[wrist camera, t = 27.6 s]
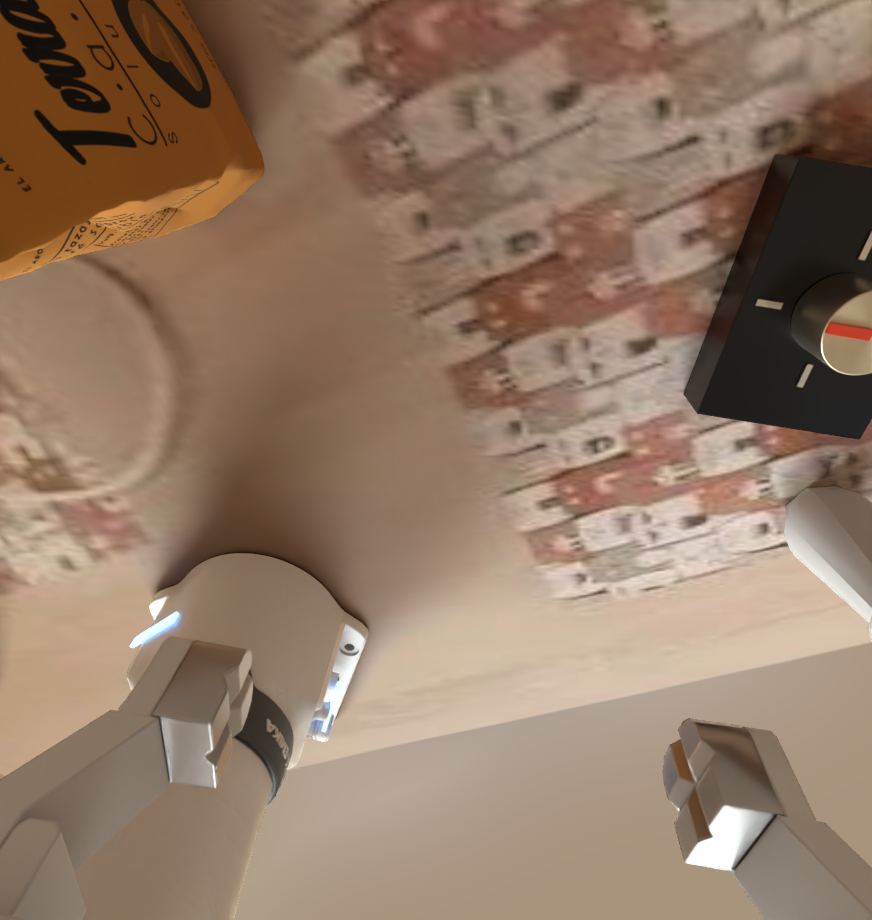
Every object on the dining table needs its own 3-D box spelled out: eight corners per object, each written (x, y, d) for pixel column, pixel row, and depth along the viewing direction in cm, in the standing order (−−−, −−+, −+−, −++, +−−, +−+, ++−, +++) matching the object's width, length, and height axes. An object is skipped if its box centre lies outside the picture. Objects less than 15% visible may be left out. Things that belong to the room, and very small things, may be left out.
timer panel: (834, 418, 38) (861, 441, 36) (682, 394, 38) (697, 415, 36) (960, 183, 31) (1006, 189, 29) (774, 153, 31) (801, 156, 29)
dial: (895, 280, 31) (943, 299, 28) (853, 358, 33) (893, 384, 30) (813, 266, 31) (851, 283, 28) (776, 345, 33) (808, 370, 30)
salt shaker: (876, 480, 40) (1025, 619, 29) (838, 546, 43) (962, 696, 32) (790, 469, 40) (906, 604, 29) (759, 536, 43) (853, 681, 32)
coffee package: (179, -84, 28) (-456, -506, 9) (292, 185, 34) (42, 267, 15) (17, 5, 31) (-759, -187, 12) (149, 243, 36) (-229, 379, 17)
